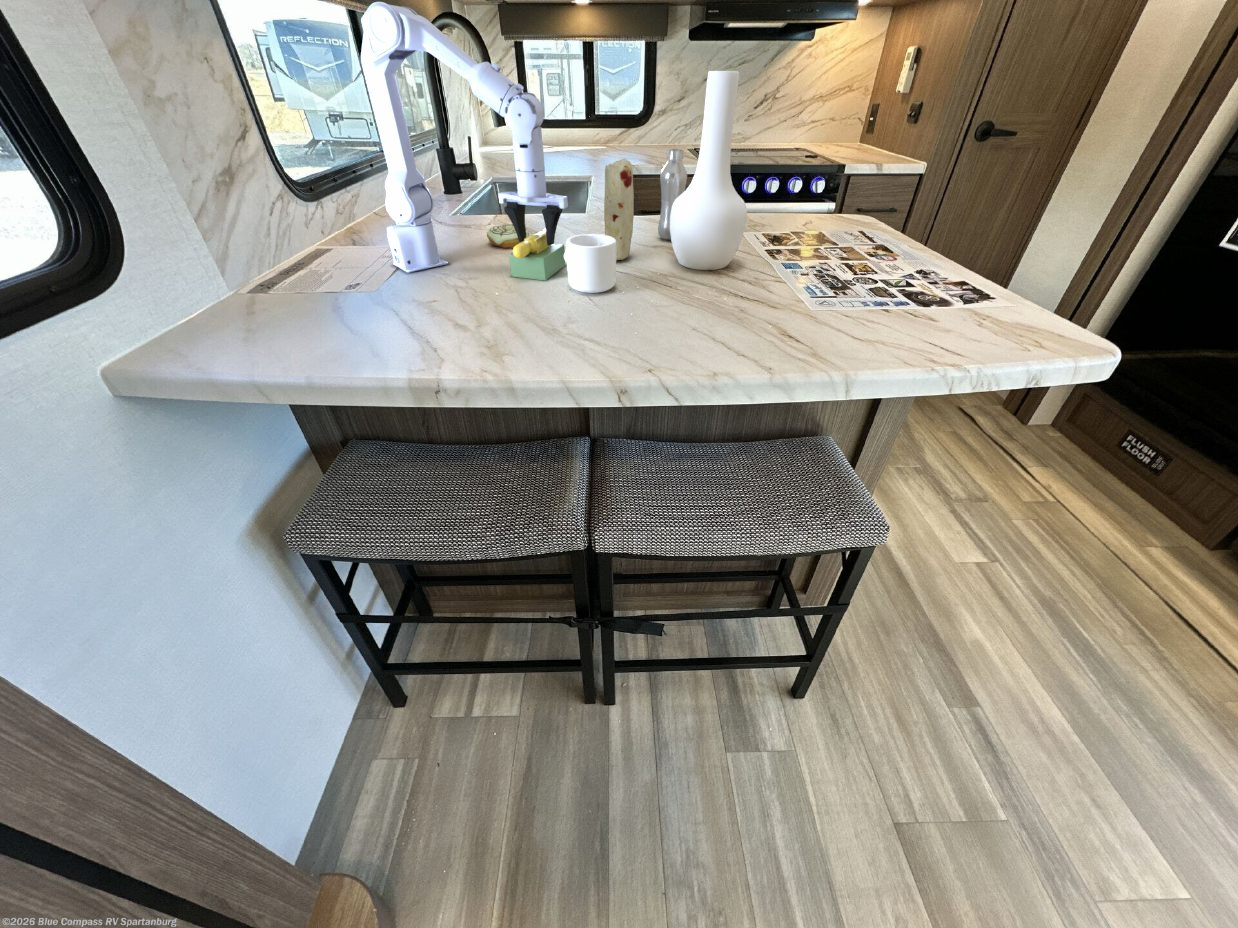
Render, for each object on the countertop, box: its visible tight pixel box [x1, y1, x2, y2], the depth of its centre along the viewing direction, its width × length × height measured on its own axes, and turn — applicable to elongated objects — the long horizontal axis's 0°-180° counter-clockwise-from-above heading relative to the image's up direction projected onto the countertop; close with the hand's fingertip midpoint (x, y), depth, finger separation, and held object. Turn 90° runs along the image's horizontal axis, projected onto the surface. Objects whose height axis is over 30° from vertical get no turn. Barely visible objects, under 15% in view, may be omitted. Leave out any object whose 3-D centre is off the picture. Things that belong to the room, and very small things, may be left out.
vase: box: [670, 70, 748, 271], centre depth 106 cm, size 17×17×35 cm
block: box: [508, 243, 566, 281], centre depth 110 cm, size 11×8×4 cm
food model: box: [603, 158, 635, 261], centre depth 113 cm, size 10×7×20 cm
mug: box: [564, 233, 617, 294], centre depth 101 cm, size 12×10×9 cm
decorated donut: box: [486, 223, 531, 249], centre depth 127 cm, size 10×11×4 cm
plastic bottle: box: [657, 148, 688, 241], centre depth 126 cm, size 6×7×20 cm
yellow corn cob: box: [512, 228, 549, 258], centre depth 107 cm, size 16×4×3 cm, turn 162°
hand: (536, 242), depth 108 cm, fingers open, 6 cm apart
